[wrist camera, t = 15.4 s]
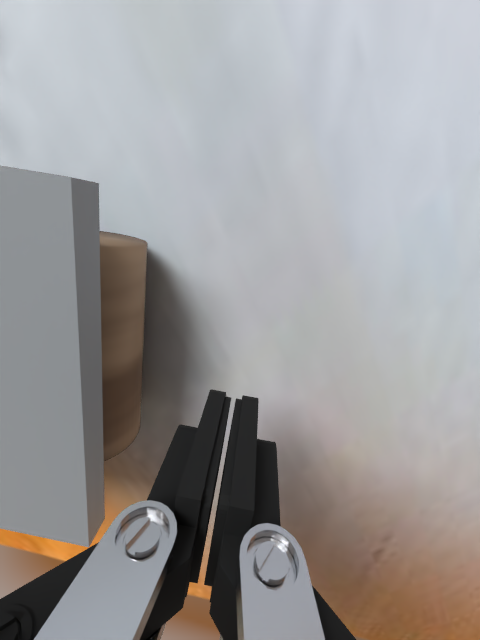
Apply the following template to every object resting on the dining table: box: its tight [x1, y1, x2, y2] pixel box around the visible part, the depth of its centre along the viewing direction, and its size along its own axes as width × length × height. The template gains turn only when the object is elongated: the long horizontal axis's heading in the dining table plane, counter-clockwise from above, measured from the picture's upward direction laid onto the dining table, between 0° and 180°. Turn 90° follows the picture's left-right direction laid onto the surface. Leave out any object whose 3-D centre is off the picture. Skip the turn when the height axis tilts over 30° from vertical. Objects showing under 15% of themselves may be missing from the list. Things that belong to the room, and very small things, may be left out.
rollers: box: [99, 231, 147, 461], centre depth 13 cm, size 12×10×5 cm
